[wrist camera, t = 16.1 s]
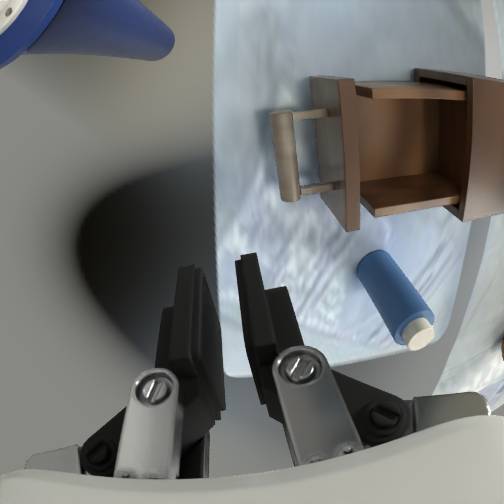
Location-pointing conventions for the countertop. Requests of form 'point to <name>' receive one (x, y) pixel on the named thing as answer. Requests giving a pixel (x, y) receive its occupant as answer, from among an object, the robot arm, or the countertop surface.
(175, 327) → the robot arm
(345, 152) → the drawer
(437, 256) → the countertop surface
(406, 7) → the countertop surface
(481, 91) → the cabinet
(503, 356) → the potato
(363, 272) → the bottle
